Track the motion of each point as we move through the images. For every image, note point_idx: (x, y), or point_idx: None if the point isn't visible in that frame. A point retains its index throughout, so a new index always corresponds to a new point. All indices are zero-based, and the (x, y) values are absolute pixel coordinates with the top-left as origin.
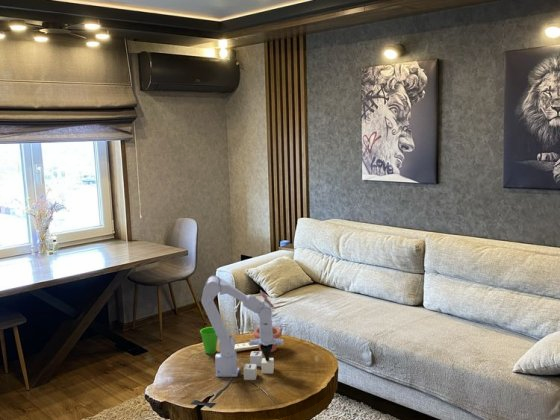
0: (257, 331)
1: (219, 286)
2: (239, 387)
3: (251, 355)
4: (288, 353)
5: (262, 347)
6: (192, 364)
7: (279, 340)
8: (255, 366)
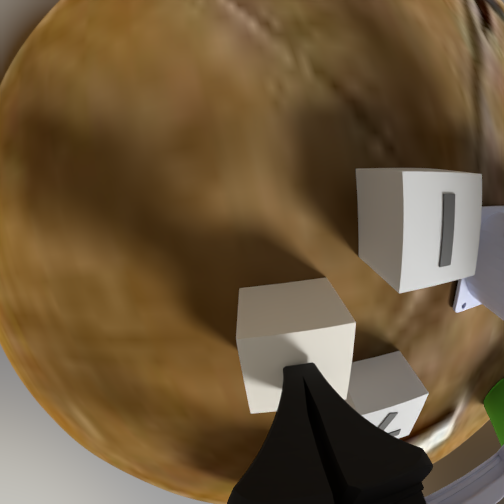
0: None
1: None
2: (421, 67)
3: (418, 402)
4: (216, 463)
5: (403, 479)
6: None
7: None
8: (405, 237)
